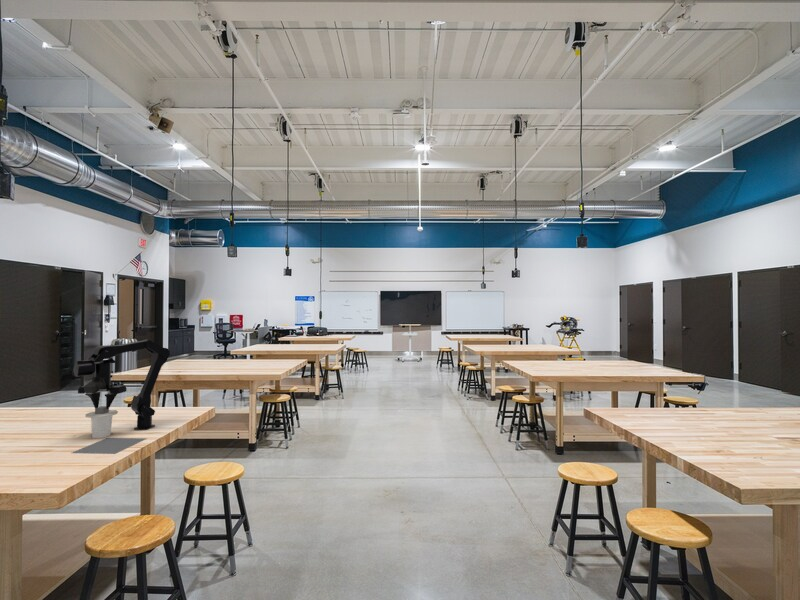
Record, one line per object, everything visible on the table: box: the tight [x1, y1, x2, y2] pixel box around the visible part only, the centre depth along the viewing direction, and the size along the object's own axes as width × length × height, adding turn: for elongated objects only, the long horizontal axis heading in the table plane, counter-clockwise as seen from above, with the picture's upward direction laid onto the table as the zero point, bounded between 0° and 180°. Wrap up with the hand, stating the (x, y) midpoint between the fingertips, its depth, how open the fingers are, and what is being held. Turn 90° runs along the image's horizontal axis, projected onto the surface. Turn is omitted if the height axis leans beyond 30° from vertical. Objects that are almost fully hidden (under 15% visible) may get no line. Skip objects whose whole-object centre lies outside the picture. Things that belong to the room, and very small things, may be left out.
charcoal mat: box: [71, 437, 148, 455], centre depth 177 cm, size 20×18×1 cm
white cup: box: [90, 415, 113, 439], centre depth 190 cm, size 8×8×10 cm
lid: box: [84, 405, 119, 419], centre depth 190 cm, size 12×12×3 cm
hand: (102, 408), depth 190 cm, fingers open, 5 cm apart
